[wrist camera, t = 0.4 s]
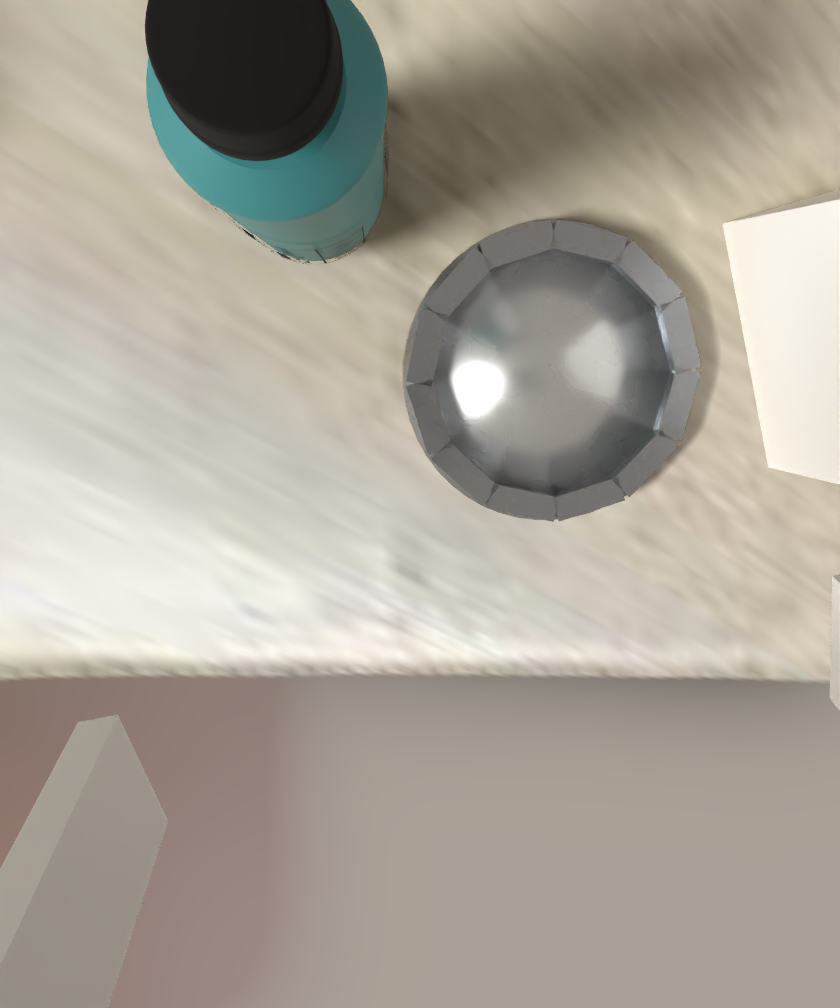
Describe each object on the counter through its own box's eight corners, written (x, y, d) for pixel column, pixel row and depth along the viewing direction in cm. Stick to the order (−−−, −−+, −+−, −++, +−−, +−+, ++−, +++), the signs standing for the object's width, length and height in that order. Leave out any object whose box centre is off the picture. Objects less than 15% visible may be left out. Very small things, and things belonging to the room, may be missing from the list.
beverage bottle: (399, 134, 35) (431, -118, 15) (371, 285, 36) (366, 229, 17) (253, 99, 34) (92, -209, 15) (229, 254, 36) (53, 159, 16)
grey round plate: (363, 275, 36) (363, 273, 35) (653, 180, 36) (664, 175, 35) (452, 553, 39) (455, 561, 38) (720, 467, 39) (732, 471, 38)
